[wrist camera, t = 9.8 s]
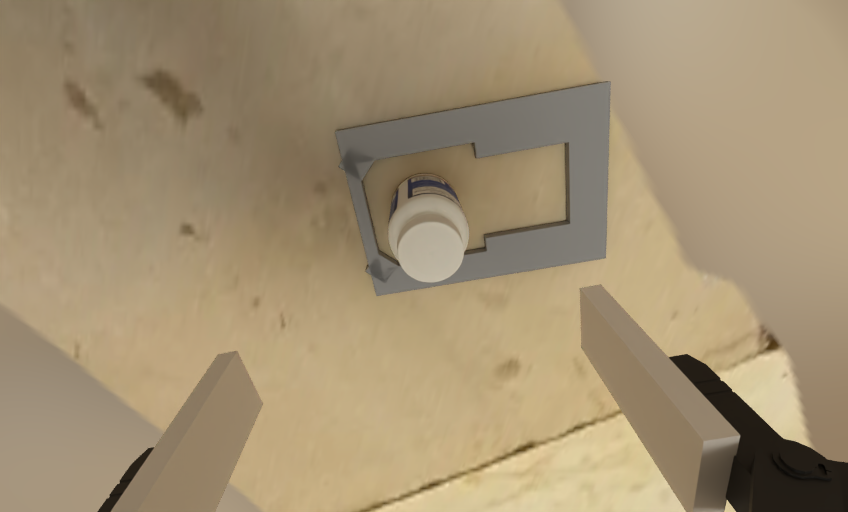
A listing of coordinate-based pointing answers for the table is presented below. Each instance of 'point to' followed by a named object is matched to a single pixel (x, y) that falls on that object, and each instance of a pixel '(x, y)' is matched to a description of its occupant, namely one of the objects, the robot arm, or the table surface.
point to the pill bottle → (427, 228)
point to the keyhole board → (492, 135)
